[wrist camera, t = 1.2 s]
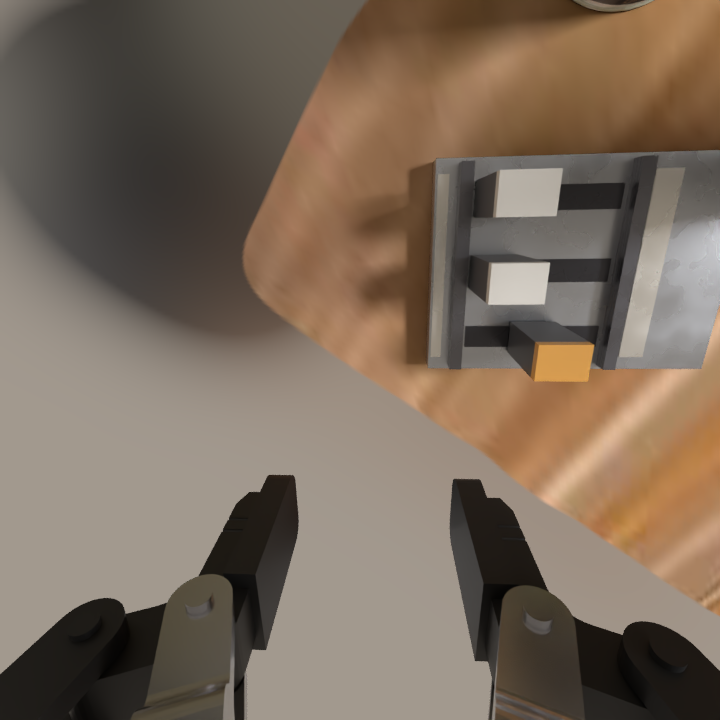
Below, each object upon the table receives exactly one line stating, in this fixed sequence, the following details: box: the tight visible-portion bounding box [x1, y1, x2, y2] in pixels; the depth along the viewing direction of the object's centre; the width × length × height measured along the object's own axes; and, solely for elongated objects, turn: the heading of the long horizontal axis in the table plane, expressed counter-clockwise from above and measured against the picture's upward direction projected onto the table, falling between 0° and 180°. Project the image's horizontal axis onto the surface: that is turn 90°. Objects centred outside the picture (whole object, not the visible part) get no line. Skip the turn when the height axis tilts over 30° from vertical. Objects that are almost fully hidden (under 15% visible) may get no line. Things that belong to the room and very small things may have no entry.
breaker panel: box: [426, 150, 720, 370], centre depth 27 cm, size 19×14×2 cm
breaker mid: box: [469, 254, 550, 305], centre depth 24 cm, size 3×2×5 cm
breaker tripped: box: [507, 322, 594, 382], centre depth 25 cm, size 3×2×5 cm
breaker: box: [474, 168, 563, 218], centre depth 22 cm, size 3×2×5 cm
